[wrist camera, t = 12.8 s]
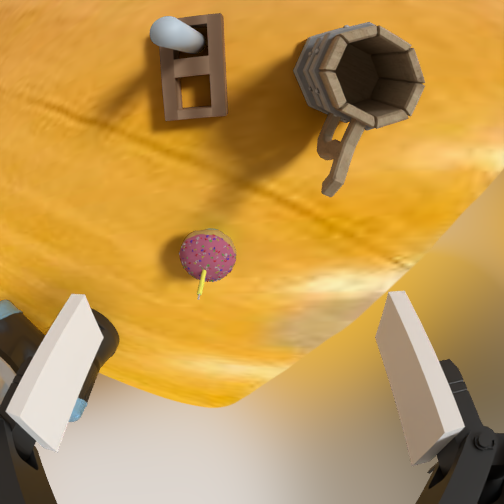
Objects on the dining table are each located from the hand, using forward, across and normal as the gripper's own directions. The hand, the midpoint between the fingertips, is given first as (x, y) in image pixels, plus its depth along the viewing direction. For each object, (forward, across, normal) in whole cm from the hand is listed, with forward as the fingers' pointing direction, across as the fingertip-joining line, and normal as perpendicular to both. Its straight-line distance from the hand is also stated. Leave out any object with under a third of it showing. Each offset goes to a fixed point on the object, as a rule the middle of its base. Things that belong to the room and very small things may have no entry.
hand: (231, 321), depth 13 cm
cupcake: (+35, -7, -16) cm, 39 cm away
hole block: (+35, -7, +11) cm, 37 cm away
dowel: (+35, -7, +14) cm, 38 cm away
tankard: (+35, +11, +6) cm, 37 cm away
